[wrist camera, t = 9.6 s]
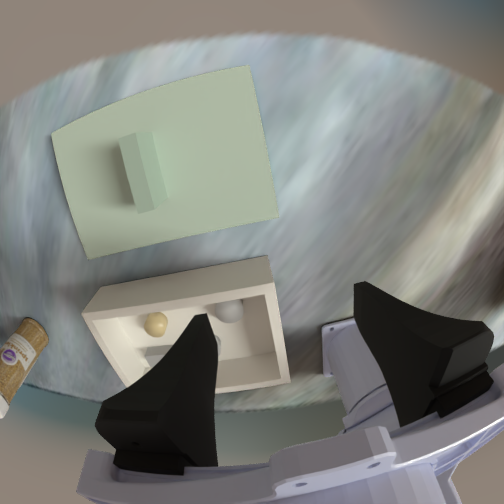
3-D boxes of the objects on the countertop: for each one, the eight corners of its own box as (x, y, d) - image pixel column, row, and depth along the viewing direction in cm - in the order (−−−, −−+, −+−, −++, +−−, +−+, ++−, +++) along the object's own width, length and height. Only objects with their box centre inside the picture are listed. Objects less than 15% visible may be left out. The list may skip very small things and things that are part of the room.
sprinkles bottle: (46, 323, 25) (-8, 402, 13) (52, 349, 27) (8, 426, 15) (20, 311, 24) (-35, 382, 12) (27, 338, 26) (-19, 407, 14)
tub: (267, 255, 23) (274, 282, 19) (284, 350, 27) (290, 382, 23) (100, 286, 23) (80, 313, 19) (143, 367, 28) (134, 397, 24)
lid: (248, 70, 17) (251, 50, 13) (276, 211, 22) (287, 233, 17) (61, 132, 18) (25, 136, 13) (95, 252, 23) (69, 279, 18)
